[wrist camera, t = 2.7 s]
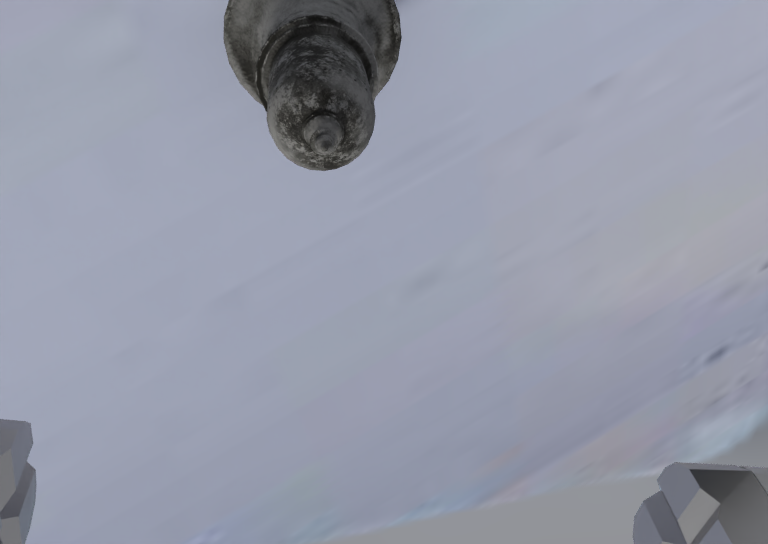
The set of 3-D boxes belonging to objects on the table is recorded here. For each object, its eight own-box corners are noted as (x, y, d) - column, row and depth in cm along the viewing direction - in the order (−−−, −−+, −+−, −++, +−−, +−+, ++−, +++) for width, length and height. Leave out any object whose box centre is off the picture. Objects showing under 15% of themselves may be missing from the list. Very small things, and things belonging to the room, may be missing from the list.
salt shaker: (391, -77, 25) (456, 20, 15) (387, 84, 29) (439, 247, 19) (221, -78, 25) (179, 23, 15) (238, 87, 28) (212, 258, 18)
